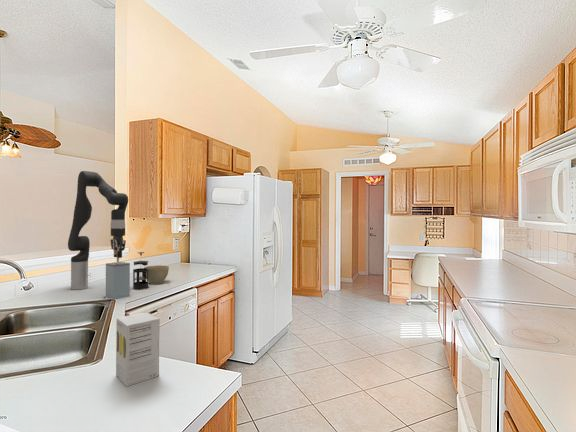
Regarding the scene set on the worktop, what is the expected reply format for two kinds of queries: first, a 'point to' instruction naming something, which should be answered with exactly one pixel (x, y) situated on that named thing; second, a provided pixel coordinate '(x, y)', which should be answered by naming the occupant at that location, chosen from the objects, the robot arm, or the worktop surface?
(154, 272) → the planter bowl
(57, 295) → the worktop surface
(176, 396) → the worktop surface
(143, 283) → the french press
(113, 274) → the block
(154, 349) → the supplement box
